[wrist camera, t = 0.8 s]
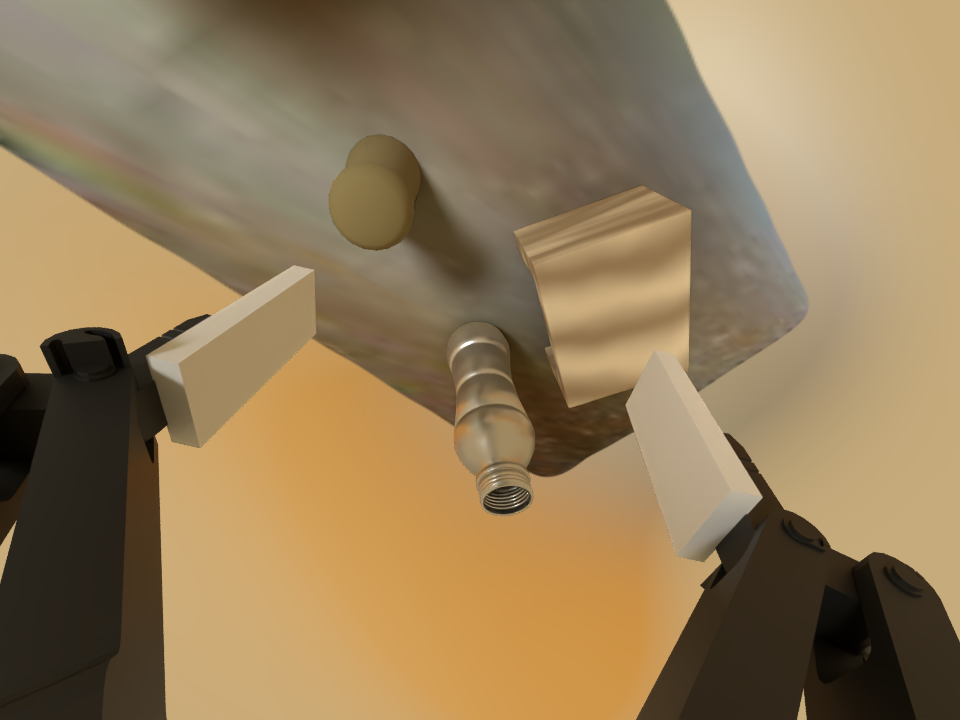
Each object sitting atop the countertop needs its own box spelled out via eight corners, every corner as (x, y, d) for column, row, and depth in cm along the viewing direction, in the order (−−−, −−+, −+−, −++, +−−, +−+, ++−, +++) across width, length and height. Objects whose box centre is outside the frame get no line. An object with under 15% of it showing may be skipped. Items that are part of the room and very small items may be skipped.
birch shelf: (513, 231, 36) (533, 265, 29) (641, 185, 35) (691, 210, 28) (548, 361, 45) (568, 408, 39) (649, 327, 44) (688, 370, 38)
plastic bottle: (480, 373, 45) (513, 536, 29) (432, 345, 42) (439, 511, 26) (517, 334, 43) (575, 490, 27) (468, 302, 40) (500, 456, 24)
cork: (431, 201, 34) (435, 247, 25) (366, 223, 34) (346, 276, 25) (404, 123, 30) (396, 143, 21) (331, 149, 30) (294, 179, 22)
